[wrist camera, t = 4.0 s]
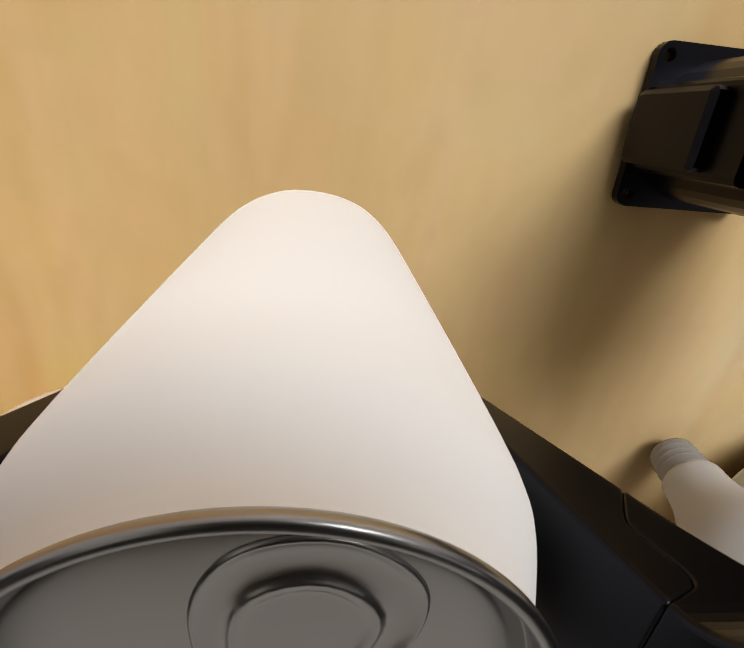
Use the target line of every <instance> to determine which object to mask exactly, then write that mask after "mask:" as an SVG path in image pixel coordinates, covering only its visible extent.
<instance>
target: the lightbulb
mask: <svg viewBox="0 0 744 648" xmlns="http://www.w3.org/2000/svg"><path fill="white" fill-rule="evenodd" d="M650 462H651V464H652V466H653V467H654V469H655V472H656V473H657V474H658V477H659V478H660V480H661V481H662V488H663V492H664V494H665V496H666V497H667V499H668V501H669V503H670V505H671V508H672V510H673V513H674V517H675V523H676V525H677V526H679V527H680V528H682V529H684V530H685V531H687V532H689V533H690V534H692V535H694V536H695V537H697V538H699V539H700V540H702V541H704V542H705V543H707V544H709V545H710V546H712V547H714V548H715V549H717V550H719V551H720V552H722V553H724V554H726V555H727V556H729V557H731V558H732V559H734V560H736V561H738V562H739V563H741V564H743V565H744V488H743V487H741V486H740V485H738V484H737V483H736V482H734V481H733V480H732V479H731V478H729V477H728V476H727V474H726V473H725V472H724V471H723V470H722V469H721V468H720V467H718V466H717V465H716V464H714V463H712V462H709V461H708V460H707V459H706V458H705V457H704V456H703V454H702V453H701V452H699V450H698V449H697V448H696V447H695V446H694V445H693V444H692V443H691V442H689V441H687V440H684V439H679V438H672V439H667V440H664V441H662V442H660V443H659V444H657V445H656V446H655V447H654V448H653V450H652V452H651V454H650Z"/></svg>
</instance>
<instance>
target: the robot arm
mask: <svg viewBox="0 0 744 648" xmlns="http://www.w3.org/2000/svg"><path fill="white" fill-rule="evenodd" d="M666 50H669V52H670V57H669V58H668V60H667V61H666V60H665V58H664V56H665V52H666ZM626 189H627V190H628V193H627V195H626V197H624V198H622V194H623V192H624V191H625V190H626ZM612 199H613V201H614V202H615V203H617V204H621V205H624V206H637V207H650V208H663V209H676V210H689V211H702V212H715V213H728V214H736V215H740V216H744V49H739V48H731V47H723V46H715V45H708V44H700V43H692V42H684V41H676V40H673V41H667V42H663V43H661V44H660V45H658V47H657V48H656V49H655V51H654V53H653V55H652V59H651V62H650V65H649V69H648V72H647V76H646V79H645V82H644V86H643V89H642V93H641V94H640V95H639V97H638V100H637V104H636V107H635V110H634V114H633V117H632V121H631V124H630V128H629V131H628V134H627V138H626V141H625V145H624V148H623V152H622V161H621V164H620V168H619V171H618V174H617V178H616V181H615V185H614V188H613V191H612ZM62 390H63V389H62ZM62 390H60V391H58V392H55V393H53V394H51V395H48V396H46V397H44V398H41V399H39V400H37V401H34V402H32V403H30V404H27V405H25V406H23V407H20V408H18V409H16V410H13V411H11V412H9V413H6V414H4V415H2V416H0V465H1V463H2V462H3V460H4V459H5V458H6V456H7V455H8V453H9V452H10V451H11V449H12V448H13V446H14V445H15V444H16V442H17V441H18V440H19V438H20V437H21V436H22V435H23V434H24V433H25V431H26V430H27V429H28V428H29V427H30V426H31V424H32V423H33V422H34V421H35V420H36V419H37V418H38V416H39V415H40V414H41V413H42V412H43V411H44V410H45V409H46V407H47V406H48V405H49V404H50V403H51V402H52V401H53V399H54V398H55V397H56V396H57V395H58V394H59V393H60V392H61V391H62ZM481 399H482V401H483V403H484V404H485V406H486V408H487V410H488V412H489V414H490V416H491V417H492V419H493V421H494V423H495V425H496V427H497V429H498V431H499V433H500V434H501V436H502V438H503V440H504V442H505V444H506V446H507V448H508V450H509V452H510V454H511V456H512V458H513V460H514V462H515V464H516V467H517V469H518V471H519V474H520V476H521V479H522V481H523V484H524V487H525V489H526V492H527V495H528V498H529V500H530V504H531V508H532V512H533V517H534V524H535V532H536V543H537V581H536V604H535V606H536V608H537V609H538V611H539V612H540V613H541V615H542V616H543V618H544V619H545V621H546V623H547V624H548V626H549V628H550V630H551V632H552V634H553V636H554V638H555V640H556V643H557V645H558V648H744V565H743V564H741V563H739V562H738V561H736V560H734V559H732V558H731V557H729V556H727V555H726V554H724V553H722V552H720V551H719V550H717V549H715V548H714V547H712V546H710V545H709V544H707V543H705V542H704V541H702V540H700V539H699V538H697V537H695V536H694V535H692V534H690V533H689V532H687V531H685V530H684V529H682V528H680V527H679V526H677V525H675V524H674V523H672V522H671V521H669V520H667V519H666V518H664V517H663V516H661V515H660V514H658V513H656V512H655V511H653V510H652V509H650V508H649V507H647V506H646V505H644V504H642V503H641V502H639V501H638V500H636V499H635V498H633V497H632V496H630V495H629V494H627V493H625V492H624V493H622V490H621V489H620V488H618V487H617V486H615V485H614V484H612V483H611V482H609V481H608V480H606V479H605V478H603V477H602V476H600V475H598V474H597V473H595V472H594V471H592V470H591V469H589V468H588V467H586V466H585V465H583V464H582V463H580V462H579V461H577V460H576V459H574V458H573V457H571V456H570V455H568V454H567V453H565V452H564V451H562V450H561V449H559V448H558V447H556V446H555V445H553V444H551V443H550V442H548V441H547V440H545V439H544V438H542V437H541V436H539V435H538V434H536V433H535V432H533V431H532V430H530V429H529V428H527V427H526V426H524V425H523V424H521V423H520V422H518V421H517V420H515V419H514V418H512V417H511V416H509V415H508V414H506V413H505V412H503V411H501V410H500V409H498V408H497V407H495V406H494V405H492V404H491V403H489V402H488V401H486V400H485V399H483V398H482V397H481Z"/></svg>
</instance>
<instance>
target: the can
mask: <svg viewBox="0 0 744 648" xmlns="http://www.w3.org/2000/svg"><path fill="white" fill-rule="evenodd" d="M536 581H537V543H536V532H535V524H534V517H533V512H532V508H531V504H530V500H529V498H528V495H527V492H526V489H525V487H524V484H523V481H522V479H521V476H520V474H519V471H518V469H517V467H516V464H515V462H514V460H513V458H512V456H511V454H510V452H509V450H508V448H507V446H506V444H505V442H504V440H503V438H502V436H501V434H500V433H499V431H498V429H497V427H496V425H495V423H494V421H493V419H492V417H491V416H490V414H489V412H488V410H487V408H486V406H485V404H484V403H483V401H482V399H481V397H480V395H479V393H478V391H477V390H476V388H475V386H474V384H473V382H472V380H471V379H470V377H469V375H468V373H467V371H466V370H465V368H464V366H463V364H462V362H461V361H460V359H459V357H458V355H457V353H456V352H455V350H454V348H453V346H452V344H451V342H450V341H449V339H448V337H447V335H446V333H445V332H444V330H443V328H442V326H441V325H440V323H439V321H438V319H437V317H436V316H435V314H434V312H433V310H432V308H431V307H430V305H429V303H428V301H427V299H426V298H425V296H424V294H423V292H422V291H421V289H420V287H419V285H418V284H417V282H416V280H415V278H414V276H413V275H412V273H411V271H410V269H409V268H408V266H407V264H406V262H405V261H404V259H403V257H402V255H401V254H400V252H399V250H398V249H397V247H396V245H395V244H394V242H393V241H392V239H391V238H390V236H389V235H388V233H387V232H386V231H385V229H384V228H383V227H382V226H381V225H380V224H379V223H378V221H377V220H376V219H375V218H374V217H373V216H372V215H370V214H369V213H368V212H367V211H366V210H364V209H363V208H362V207H360V206H358V205H357V204H355V203H353V202H351V201H349V200H346V199H344V198H341V197H338V196H335V195H331V194H327V193H322V192H316V191H309V190H286V191H280V192H275V193H271V194H268V195H265V196H262V197H260V198H257V199H255V200H253V201H251V202H249V203H247V204H246V205H244V206H242V207H241V208H239V209H238V210H237V211H235V212H234V213H233V214H232V215H230V216H229V217H228V218H227V219H226V220H225V221H224V222H223V223H222V224H221V225H220V226H219V227H217V228H216V229H215V230H214V231H213V233H212V234H211V235H210V236H209V237H208V238H207V239H206V240H205V241H204V242H203V243H202V244H201V245H200V246H199V247H198V248H197V249H196V250H195V251H194V252H193V253H192V254H191V255H190V256H189V257H188V258H187V259H186V260H185V261H184V262H183V263H182V264H181V265H180V266H179V267H178V268H177V269H176V271H175V272H174V273H173V274H172V275H171V276H170V277H169V278H168V279H167V280H166V281H165V282H164V283H163V284H162V285H161V286H160V287H159V288H158V289H157V290H156V291H155V292H154V293H153V294H152V295H151V297H150V298H149V299H148V300H147V301H146V302H145V303H144V304H143V305H142V306H141V307H140V308H139V309H138V310H137V311H136V312H135V313H134V314H133V315H132V316H131V317H130V318H129V320H128V321H127V322H126V323H125V324H124V325H123V326H122V327H121V328H120V329H119V330H118V331H117V332H116V333H115V334H114V335H113V336H112V337H111V338H110V340H109V341H108V342H107V343H106V344H105V345H104V346H103V347H102V348H101V349H100V350H99V351H98V352H97V353H96V354H95V355H94V356H93V357H92V359H91V360H90V361H89V362H88V363H87V364H86V365H85V366H84V367H83V368H82V369H81V370H80V371H79V372H78V374H77V375H76V376H75V377H74V378H73V379H72V380H71V381H70V382H69V383H68V384H67V385H66V386H65V387H64V389H63V390H62V391H61V392H60V393H59V394H58V395H57V396H56V397H55V398H54V399H53V401H52V402H51V403H50V404H49V405H48V406H47V407H46V409H45V410H44V411H43V412H42V413H41V414H40V415H39V416H38V418H37V419H36V420H35V421H34V422H33V423H32V424H31V426H30V427H29V428H28V429H27V430H26V431H25V433H24V434H23V435H22V436H21V437H20V438H19V440H18V441H17V442H16V444H15V445H14V446H13V448H12V449H11V451H10V452H9V453H8V455H7V456H6V458H5V459H4V460H3V462H2V463H1V465H0V648H558V645H557V643H556V640H555V638H554V636H553V634H552V632H551V630H550V628H549V626H548V624H547V623H546V621H545V619H544V618H543V616H542V615H541V613H540V612H539V611H538V609H537V608H536V606H535V604H536Z"/></svg>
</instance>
